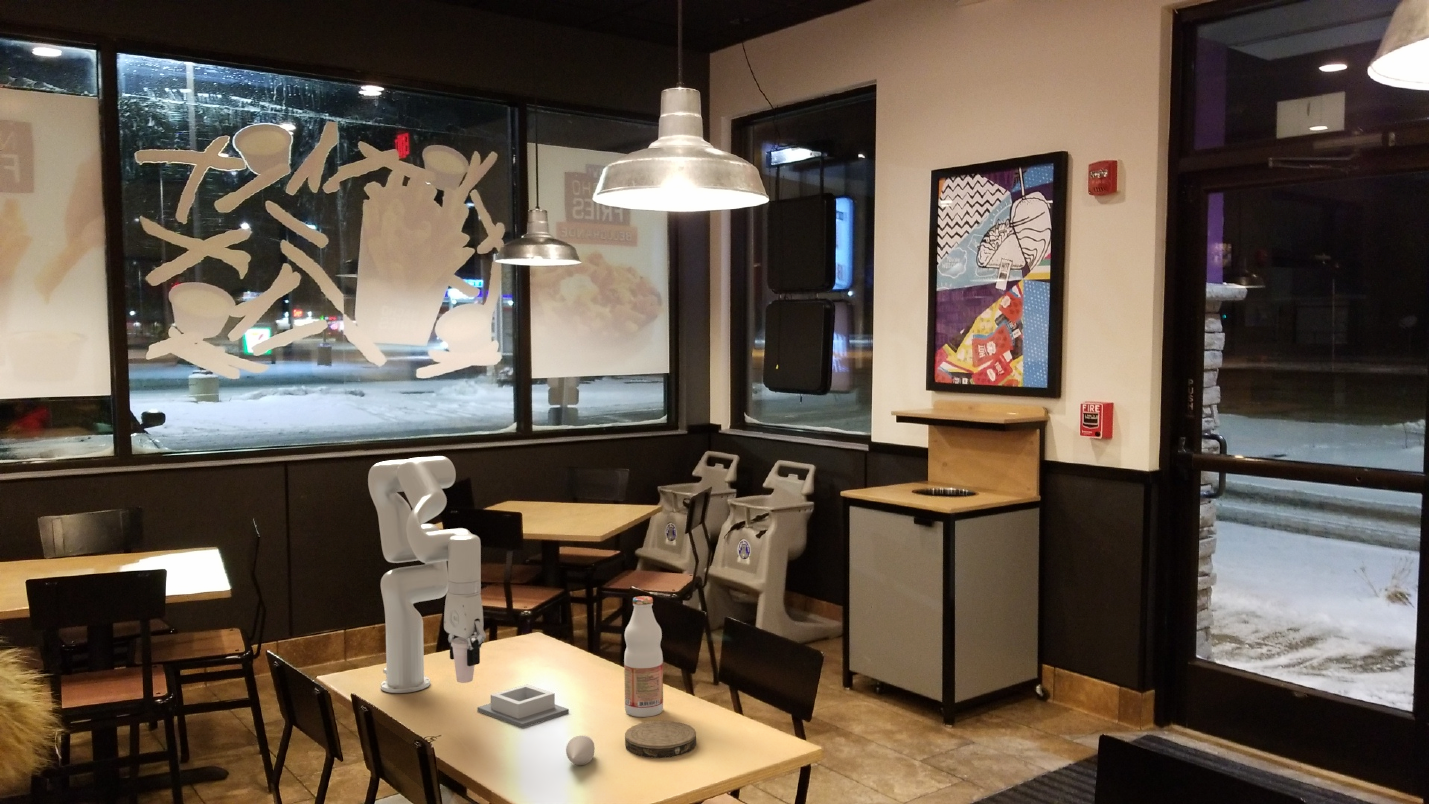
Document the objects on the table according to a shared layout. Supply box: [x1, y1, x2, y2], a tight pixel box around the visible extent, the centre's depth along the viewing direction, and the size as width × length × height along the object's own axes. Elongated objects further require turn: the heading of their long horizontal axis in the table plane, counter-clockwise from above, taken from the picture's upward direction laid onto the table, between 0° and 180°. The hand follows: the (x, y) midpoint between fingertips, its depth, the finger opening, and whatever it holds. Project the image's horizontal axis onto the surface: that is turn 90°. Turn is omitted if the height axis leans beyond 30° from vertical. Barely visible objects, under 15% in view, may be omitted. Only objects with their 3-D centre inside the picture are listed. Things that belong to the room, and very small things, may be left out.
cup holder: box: [476, 684, 570, 729], centre depth 262 cm, size 18×14×4 cm
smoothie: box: [450, 637, 475, 684], centre depth 254 cm, size 6×6×14 cm
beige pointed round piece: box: [565, 735, 596, 766], centre depth 228 cm, size 6×6×15 cm
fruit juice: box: [623, 595, 664, 718], centre depth 262 cm, size 9×9×28 cm
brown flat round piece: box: [624, 720, 697, 759], centre depth 240 cm, size 16×16×3 cm
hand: (464, 660), depth 254 cm, fingers closed on smoothie, 6 cm apart
